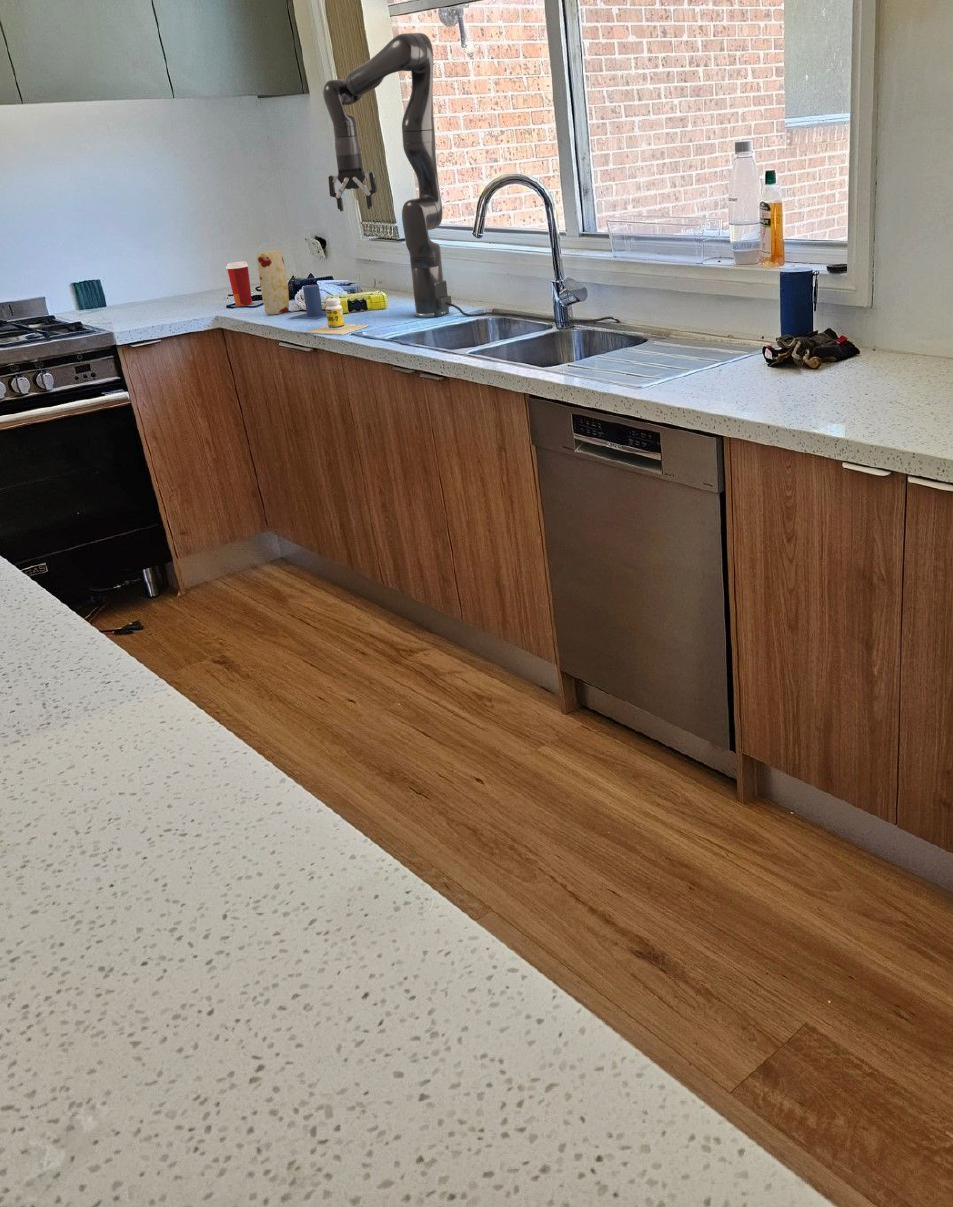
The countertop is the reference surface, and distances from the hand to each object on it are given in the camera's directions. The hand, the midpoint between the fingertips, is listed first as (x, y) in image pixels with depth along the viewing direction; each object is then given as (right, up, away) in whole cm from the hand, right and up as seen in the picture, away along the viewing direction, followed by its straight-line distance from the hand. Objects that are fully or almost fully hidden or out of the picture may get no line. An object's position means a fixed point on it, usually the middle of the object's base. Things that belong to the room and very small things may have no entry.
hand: (355, 210), depth 329 cm
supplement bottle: (-4, -40, -13) cm, 42 cm away
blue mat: (-14, -30, +10) cm, 35 cm away
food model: (-27, -27, +20) cm, 43 cm away
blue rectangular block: (-14, -29, +10) cm, 34 cm away
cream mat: (-4, -40, -14) cm, 43 cm away
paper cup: (-44, -17, +44) cm, 65 cm away
